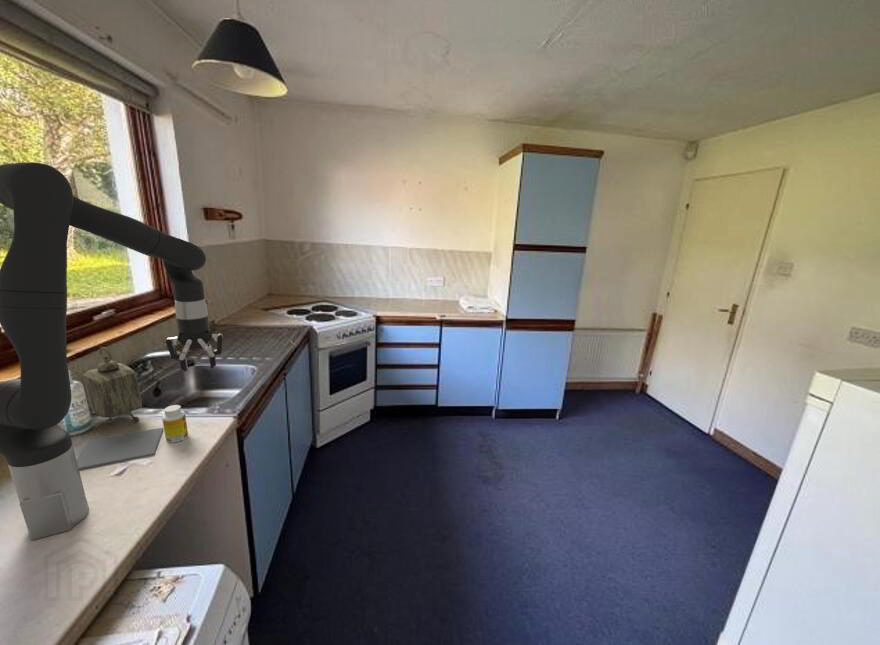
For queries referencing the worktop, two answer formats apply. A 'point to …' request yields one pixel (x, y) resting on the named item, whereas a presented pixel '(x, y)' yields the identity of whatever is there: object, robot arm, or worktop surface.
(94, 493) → the worktop surface
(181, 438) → the supplement bottle
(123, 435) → the mat
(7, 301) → the robot arm
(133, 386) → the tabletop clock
